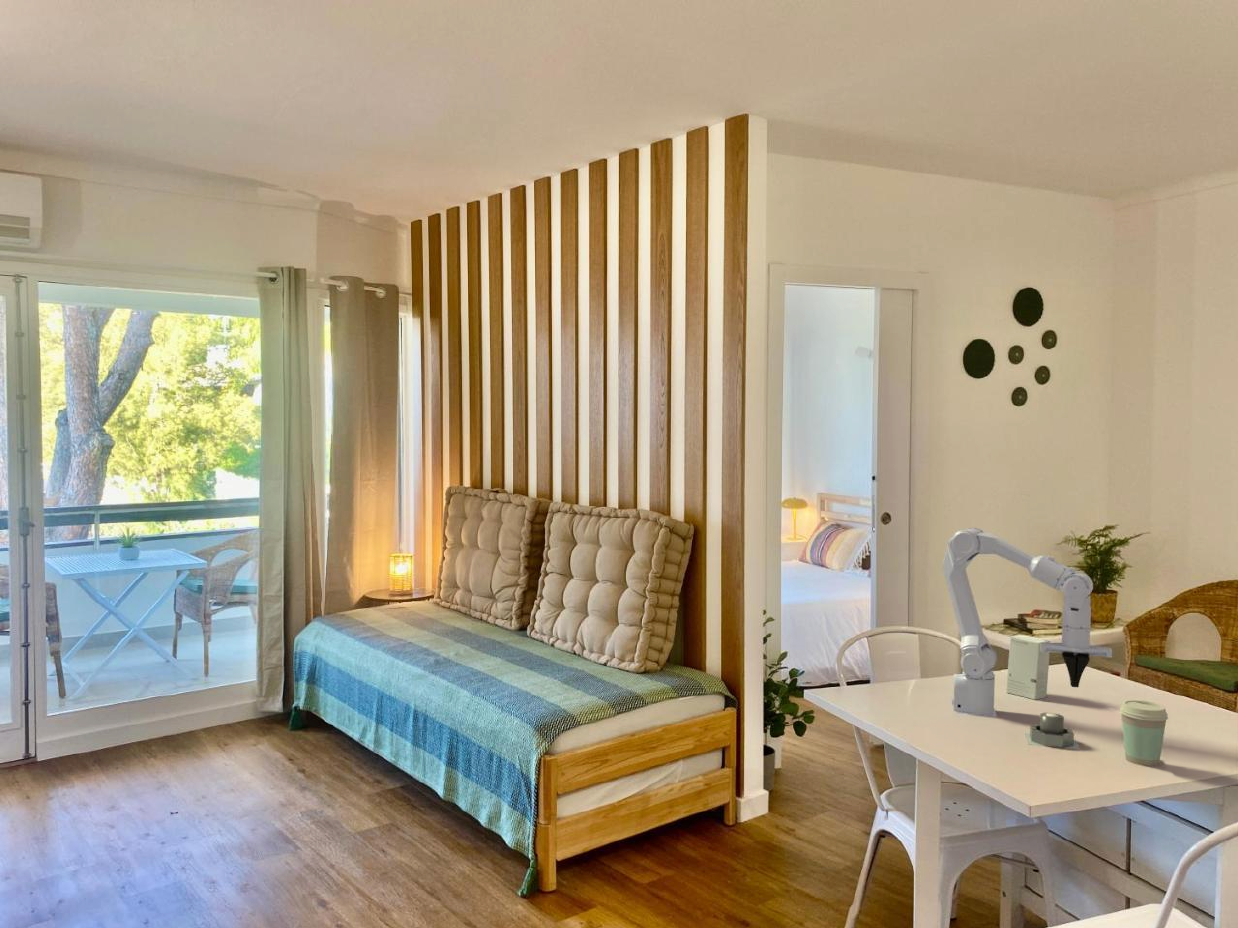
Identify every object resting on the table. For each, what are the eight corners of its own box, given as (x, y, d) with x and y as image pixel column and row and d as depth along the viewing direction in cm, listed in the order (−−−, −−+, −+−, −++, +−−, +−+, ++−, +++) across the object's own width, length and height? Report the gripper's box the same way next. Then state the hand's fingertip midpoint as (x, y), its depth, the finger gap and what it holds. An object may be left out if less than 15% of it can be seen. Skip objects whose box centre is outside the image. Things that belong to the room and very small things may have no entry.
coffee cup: (1176, 770, 184) (1178, 711, 184) (1135, 771, 184) (1137, 711, 183) (1148, 756, 193) (1150, 699, 192) (1109, 756, 192) (1110, 699, 192)
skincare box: (1005, 693, 241) (1007, 636, 240) (1018, 689, 244) (1019, 633, 244) (1037, 700, 234) (1038, 641, 234) (1049, 696, 238) (1050, 639, 237)
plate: (1028, 746, 198) (1028, 743, 198) (1024, 735, 205) (1024, 732, 205) (1079, 752, 194) (1079, 749, 194) (1074, 740, 202) (1074, 738, 202)
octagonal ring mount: (1032, 744, 197) (1033, 732, 197) (1028, 733, 205) (1029, 721, 205) (1075, 749, 195) (1075, 737, 195) (1069, 737, 202) (1070, 726, 202)
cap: (1041, 740, 198) (1041, 716, 198) (1038, 734, 203) (1039, 710, 203) (1064, 743, 197) (1065, 718, 197) (1061, 736, 201) (1062, 712, 201)
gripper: (1043, 627, 208) (1041, 687, 209) (1115, 632, 204) (1113, 693, 204) (1039, 621, 215) (1038, 679, 215) (1109, 626, 210) (1107, 685, 211)
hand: (1074, 686), depth 210 cm, fingers closed
